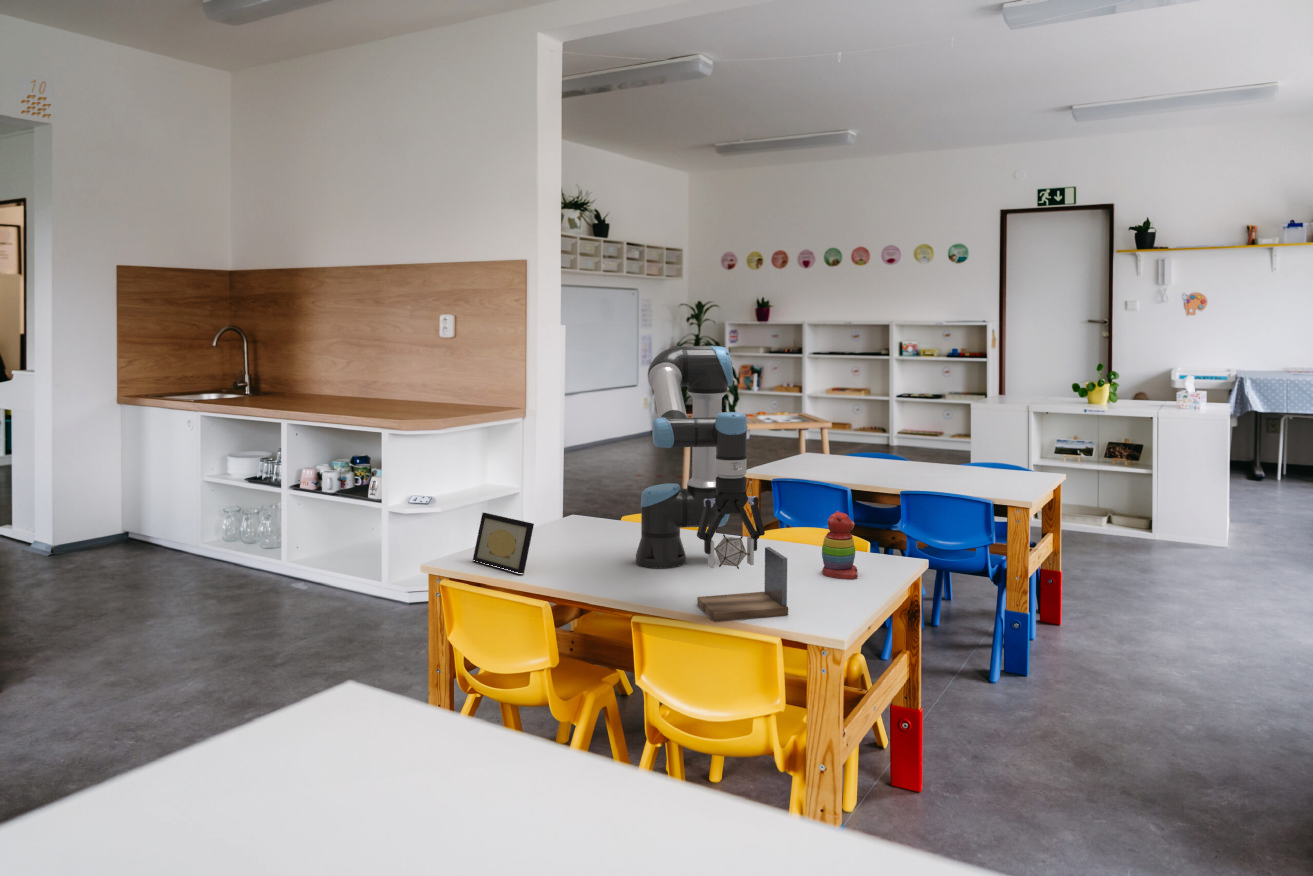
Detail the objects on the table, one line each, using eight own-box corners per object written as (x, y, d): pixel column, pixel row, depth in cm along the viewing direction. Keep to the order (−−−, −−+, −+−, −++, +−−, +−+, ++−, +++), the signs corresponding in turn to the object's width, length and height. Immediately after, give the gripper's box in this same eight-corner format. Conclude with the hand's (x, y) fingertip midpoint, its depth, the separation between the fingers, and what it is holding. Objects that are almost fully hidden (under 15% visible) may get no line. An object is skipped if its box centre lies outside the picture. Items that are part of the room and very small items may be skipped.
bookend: (764, 592, 233) (764, 547, 231) (768, 592, 233) (769, 546, 232) (782, 606, 221) (782, 558, 220) (786, 606, 222) (787, 558, 220)
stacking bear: (857, 580, 251) (859, 517, 249) (821, 578, 253) (822, 516, 251) (857, 569, 262) (858, 509, 260) (821, 568, 264) (822, 508, 262)
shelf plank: (697, 604, 230) (697, 597, 229) (767, 598, 234) (767, 591, 234) (714, 621, 216) (714, 613, 216) (788, 615, 221) (788, 607, 221)
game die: (723, 580, 224) (708, 544, 228) (754, 567, 225) (739, 532, 229) (721, 571, 216) (706, 534, 220) (754, 558, 217) (738, 522, 221)
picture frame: (472, 562, 273) (475, 512, 272) (495, 559, 279) (499, 511, 279) (520, 576, 257) (523, 523, 256) (544, 573, 264) (547, 522, 263)
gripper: (691, 480, 214) (692, 572, 217) (779, 476, 219) (778, 565, 222) (683, 475, 221) (683, 564, 224) (768, 471, 227) (767, 558, 229)
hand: (730, 565), depth 223 cm, fingers closed on game die, 9 cm apart
